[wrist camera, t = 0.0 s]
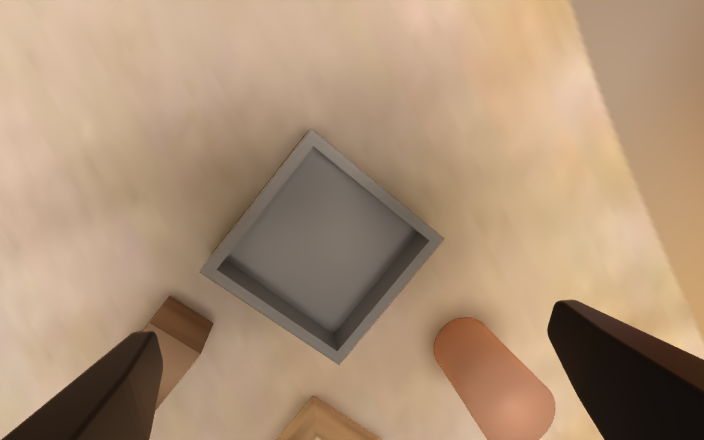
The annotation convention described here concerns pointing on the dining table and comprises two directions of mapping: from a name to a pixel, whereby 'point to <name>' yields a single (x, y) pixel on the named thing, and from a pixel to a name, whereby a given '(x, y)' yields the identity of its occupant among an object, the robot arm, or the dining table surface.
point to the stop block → (177, 341)
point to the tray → (322, 249)
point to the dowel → (493, 382)
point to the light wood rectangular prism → (323, 425)
